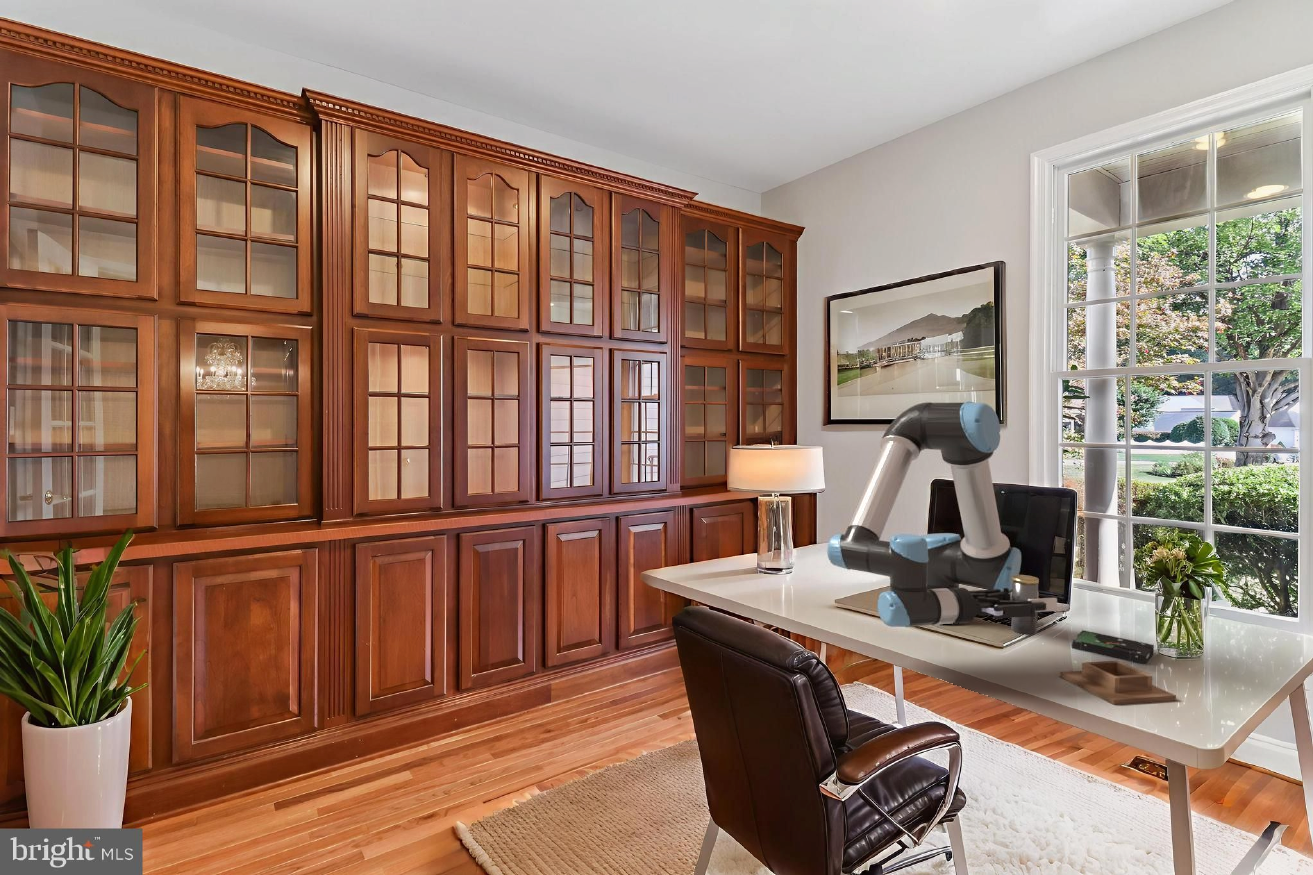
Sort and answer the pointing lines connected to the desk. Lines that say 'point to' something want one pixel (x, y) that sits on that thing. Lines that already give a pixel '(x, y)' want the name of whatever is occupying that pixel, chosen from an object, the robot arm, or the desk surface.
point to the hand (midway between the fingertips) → (1046, 600)
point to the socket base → (1117, 683)
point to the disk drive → (1113, 647)
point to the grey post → (1022, 591)
